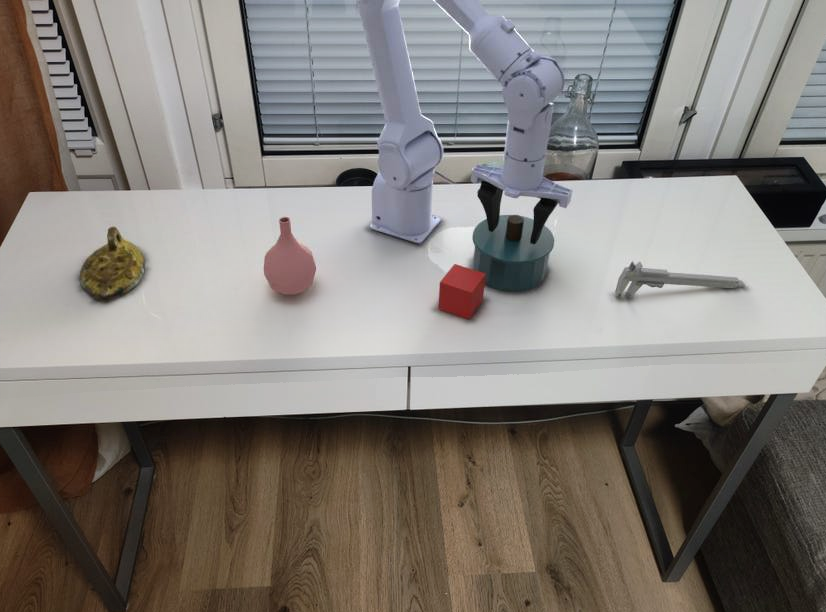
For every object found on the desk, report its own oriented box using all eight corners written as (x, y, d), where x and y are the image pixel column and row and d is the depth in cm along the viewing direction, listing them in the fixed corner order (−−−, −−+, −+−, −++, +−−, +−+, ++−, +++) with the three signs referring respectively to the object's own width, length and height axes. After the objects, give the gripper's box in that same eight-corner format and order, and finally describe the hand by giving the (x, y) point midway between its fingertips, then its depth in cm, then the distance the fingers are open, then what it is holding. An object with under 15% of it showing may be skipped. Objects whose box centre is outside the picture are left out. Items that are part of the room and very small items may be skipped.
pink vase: (264, 274, 116) (255, 207, 108) (314, 269, 117) (308, 202, 109) (268, 306, 111) (258, 238, 102) (320, 300, 112) (314, 232, 103)
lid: (459, 252, 113) (460, 228, 110) (491, 212, 120) (493, 189, 117) (536, 276, 109) (540, 252, 106) (564, 234, 116) (569, 210, 113)
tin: (461, 278, 116) (463, 248, 112) (489, 240, 123) (493, 212, 119) (530, 300, 112) (535, 270, 109) (555, 260, 120) (560, 231, 116)
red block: (438, 309, 111) (439, 282, 107) (452, 290, 114) (454, 263, 110) (469, 319, 109) (471, 292, 106) (483, 300, 112) (486, 273, 109)
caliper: (616, 300, 113) (625, 266, 108) (613, 295, 113) (622, 261, 109) (744, 288, 115) (758, 254, 111) (741, 283, 116) (754, 250, 112)
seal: (142, 305, 112) (148, 246, 123) (138, 280, 109) (145, 221, 119) (74, 306, 110) (87, 245, 121) (69, 280, 107) (82, 220, 118)
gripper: (464, 151, 104) (458, 234, 113) (566, 178, 99) (550, 262, 108) (485, 130, 108) (477, 211, 118) (583, 154, 103) (566, 237, 113)
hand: (513, 234), depth 113 cm, fingers open, 6 cm apart
